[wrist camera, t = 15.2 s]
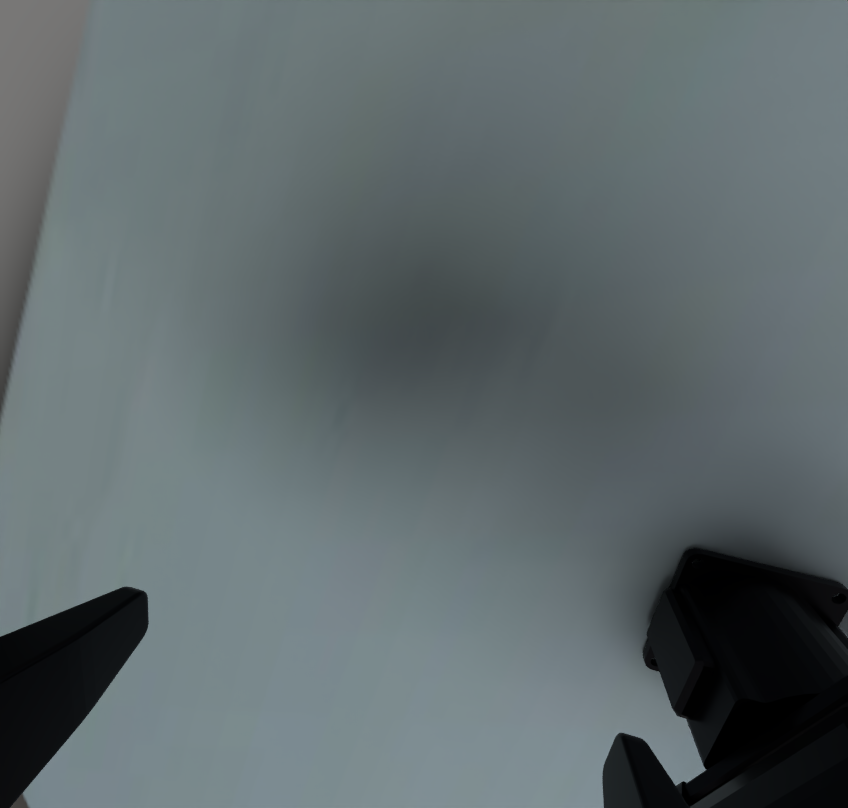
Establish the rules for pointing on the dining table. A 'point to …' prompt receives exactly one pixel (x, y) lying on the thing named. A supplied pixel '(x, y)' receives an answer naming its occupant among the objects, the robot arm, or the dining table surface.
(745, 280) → the dining table surface
